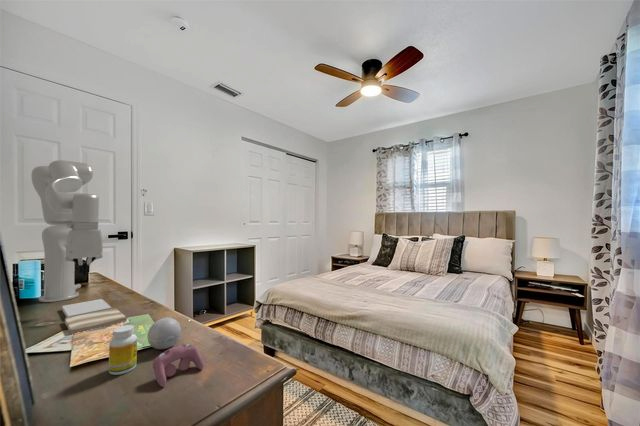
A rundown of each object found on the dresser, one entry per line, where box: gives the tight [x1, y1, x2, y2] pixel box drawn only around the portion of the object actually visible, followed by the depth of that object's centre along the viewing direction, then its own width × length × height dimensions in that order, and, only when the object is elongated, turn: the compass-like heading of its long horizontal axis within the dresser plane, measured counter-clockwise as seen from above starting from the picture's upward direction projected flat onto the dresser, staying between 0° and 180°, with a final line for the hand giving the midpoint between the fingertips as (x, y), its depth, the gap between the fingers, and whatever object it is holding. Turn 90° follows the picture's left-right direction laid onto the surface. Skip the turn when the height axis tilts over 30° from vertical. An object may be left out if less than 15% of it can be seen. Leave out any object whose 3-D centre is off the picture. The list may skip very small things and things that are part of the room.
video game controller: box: [152, 343, 204, 388], centre depth 63 cm, size 10×5×7 cm, turn 141°
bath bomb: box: [147, 317, 182, 350], centre depth 75 cm, size 8×8×8 cm
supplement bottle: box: [108, 324, 138, 376], centre depth 65 cm, size 5×5×10 cm
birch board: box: [64, 307, 128, 336], centre depth 92 cm, size 14×14×2 cm
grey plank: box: [61, 298, 113, 318], centre depth 103 cm, size 16×12×2 cm
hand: (83, 275), depth 103 cm, fingers closed
